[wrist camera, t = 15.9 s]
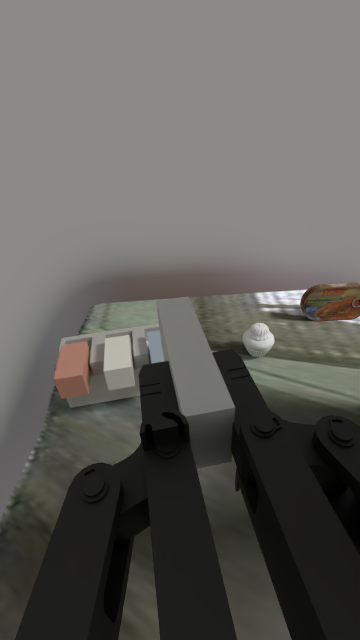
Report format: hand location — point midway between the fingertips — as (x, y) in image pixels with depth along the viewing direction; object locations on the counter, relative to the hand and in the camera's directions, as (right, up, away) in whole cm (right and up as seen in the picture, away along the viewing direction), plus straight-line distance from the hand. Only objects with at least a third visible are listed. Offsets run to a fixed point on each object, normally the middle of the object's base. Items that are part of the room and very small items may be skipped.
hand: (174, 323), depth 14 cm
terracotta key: (-16, -9, +33) cm, 38 cm away
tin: (+36, +1, +55) cm, 66 cm away
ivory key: (-9, -8, +34) cm, 36 cm away
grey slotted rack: (-10, -11, +41) cm, 44 cm away
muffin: (+16, -7, +46) cm, 49 cm away
